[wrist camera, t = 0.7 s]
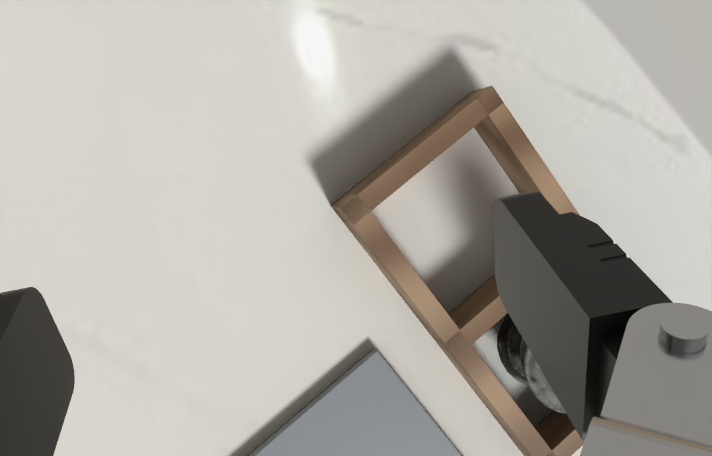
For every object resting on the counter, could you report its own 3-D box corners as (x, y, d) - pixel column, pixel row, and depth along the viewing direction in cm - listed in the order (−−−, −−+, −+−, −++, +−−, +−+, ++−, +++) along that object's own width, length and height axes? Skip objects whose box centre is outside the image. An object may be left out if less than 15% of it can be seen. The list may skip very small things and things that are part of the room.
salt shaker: (498, 284, 35) (646, 339, 24) (594, 289, 37) (778, 343, 25) (487, 390, 36) (627, 496, 24) (583, 391, 37) (758, 492, 26)
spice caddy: (330, 205, 33) (340, 208, 31) (472, 91, 34) (492, 85, 32) (525, 457, 37) (548, 476, 34) (646, 346, 38) (676, 358, 36)
